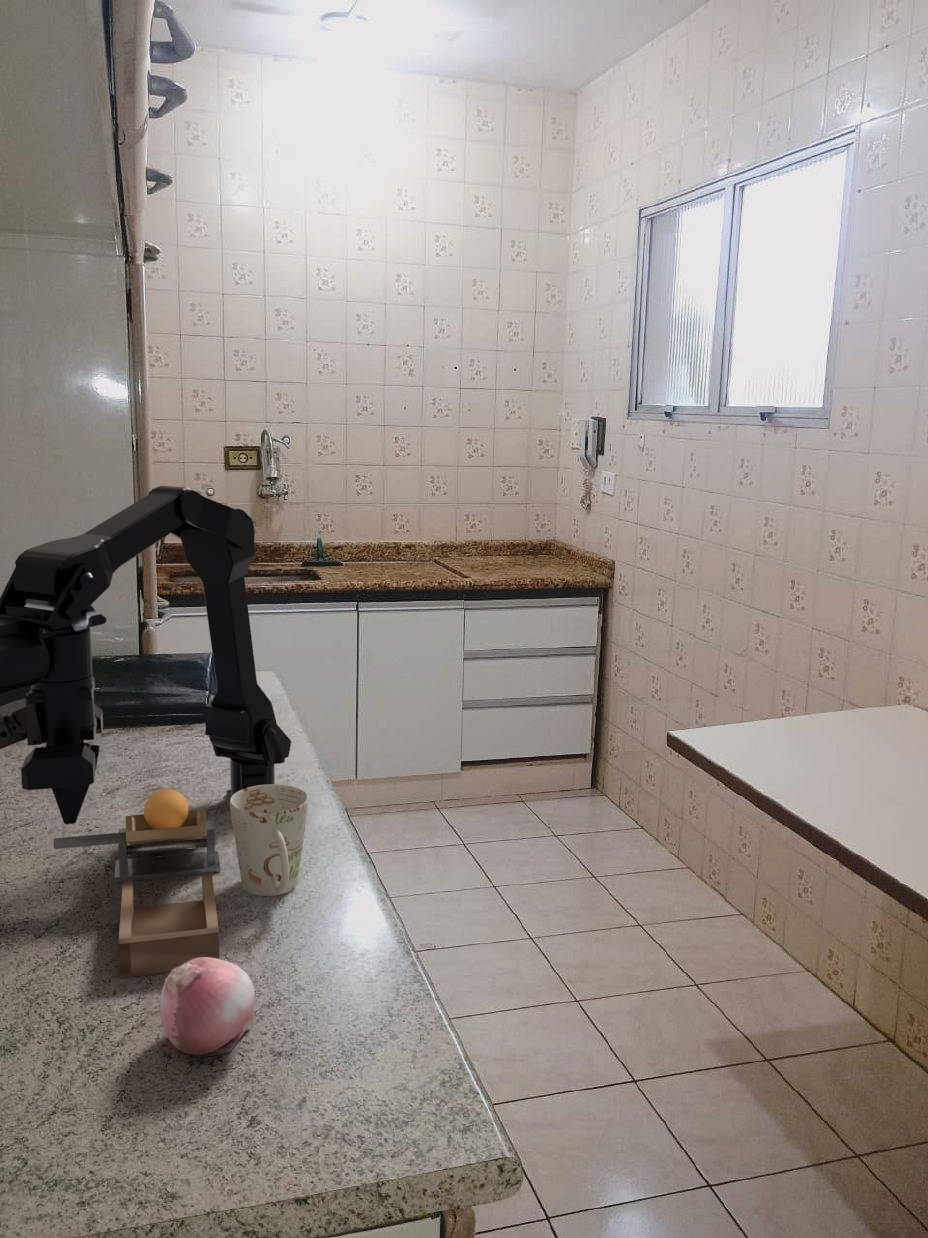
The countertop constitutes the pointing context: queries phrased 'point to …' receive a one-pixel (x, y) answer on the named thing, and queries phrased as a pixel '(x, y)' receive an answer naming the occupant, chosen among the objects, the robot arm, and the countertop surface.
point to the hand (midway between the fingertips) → (70, 822)
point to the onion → (206, 1006)
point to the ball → (166, 809)
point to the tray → (166, 932)
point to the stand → (167, 859)
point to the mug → (269, 836)
